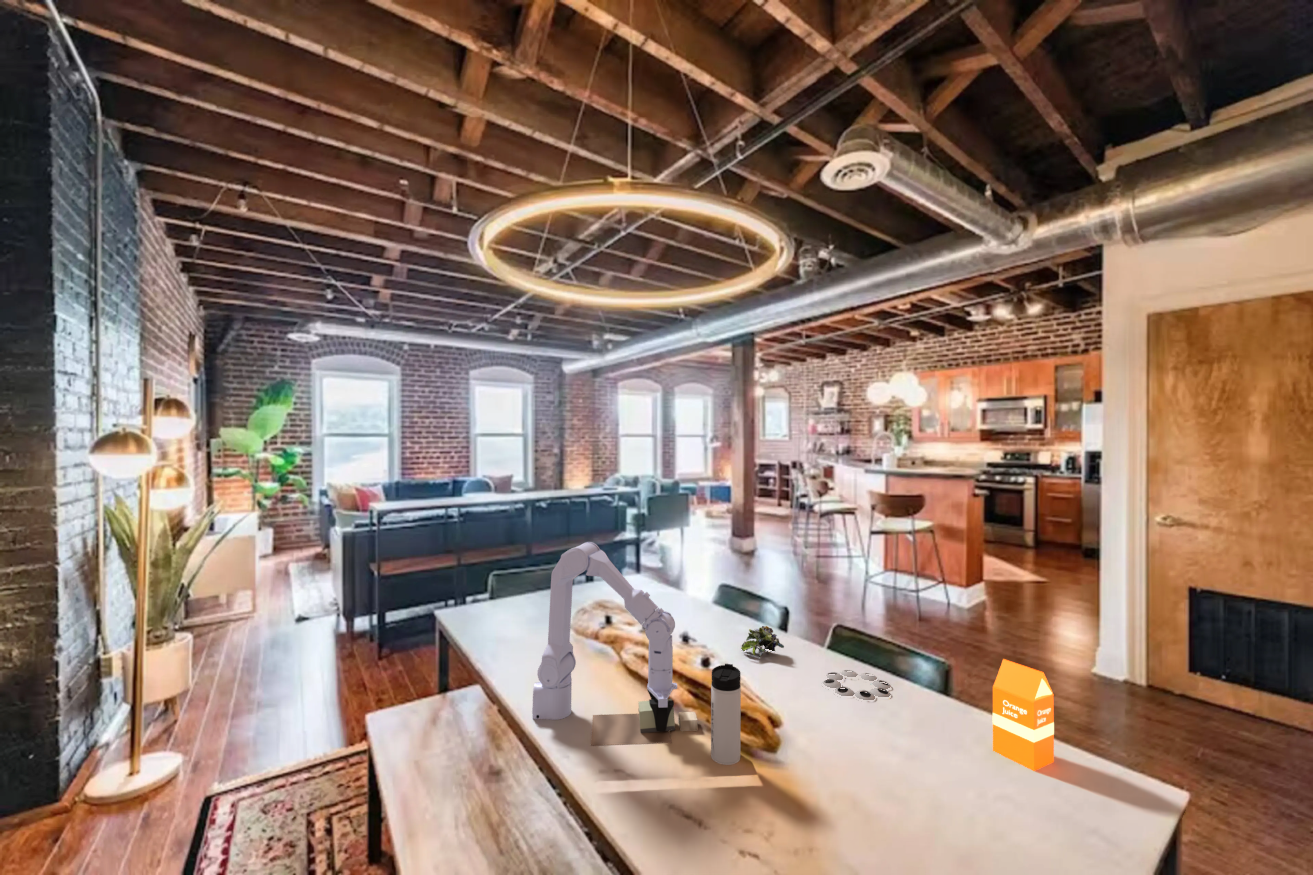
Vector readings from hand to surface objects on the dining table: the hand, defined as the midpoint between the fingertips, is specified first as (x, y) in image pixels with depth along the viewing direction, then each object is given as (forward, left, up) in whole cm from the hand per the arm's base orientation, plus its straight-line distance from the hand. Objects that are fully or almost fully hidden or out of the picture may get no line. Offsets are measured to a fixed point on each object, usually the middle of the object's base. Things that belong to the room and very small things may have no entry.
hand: (660, 724), depth 131 cm
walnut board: (-7, 0, -2) cm, 7 cm away
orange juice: (+79, -15, -2) cm, 80 cm away
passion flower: (+37, +46, -2) cm, 59 cm away
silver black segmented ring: (+58, +22, -3) cm, 62 cm away
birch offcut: (+5, 0, 0) cm, 5 cm away
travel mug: (+13, -13, -2) cm, 19 cm away
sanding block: (-1, 0, 0) cm, 1 cm away
